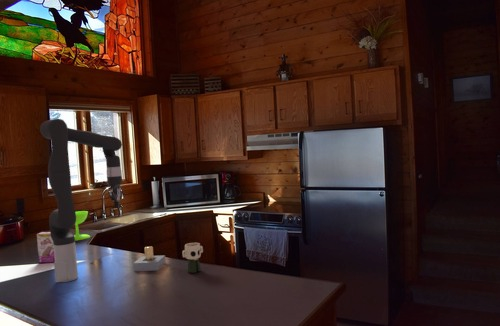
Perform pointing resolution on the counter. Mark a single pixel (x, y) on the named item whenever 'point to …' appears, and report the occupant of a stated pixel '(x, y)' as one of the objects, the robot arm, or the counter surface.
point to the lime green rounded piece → (79, 219)
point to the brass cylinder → (149, 253)
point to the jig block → (149, 264)
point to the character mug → (193, 256)
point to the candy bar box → (45, 247)
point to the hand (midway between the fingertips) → (116, 208)
